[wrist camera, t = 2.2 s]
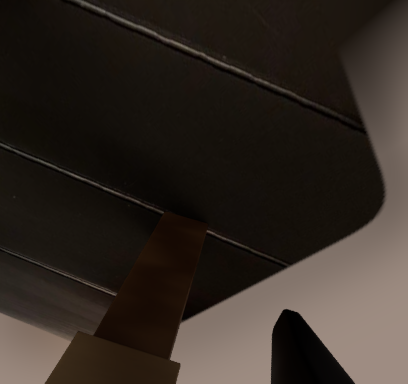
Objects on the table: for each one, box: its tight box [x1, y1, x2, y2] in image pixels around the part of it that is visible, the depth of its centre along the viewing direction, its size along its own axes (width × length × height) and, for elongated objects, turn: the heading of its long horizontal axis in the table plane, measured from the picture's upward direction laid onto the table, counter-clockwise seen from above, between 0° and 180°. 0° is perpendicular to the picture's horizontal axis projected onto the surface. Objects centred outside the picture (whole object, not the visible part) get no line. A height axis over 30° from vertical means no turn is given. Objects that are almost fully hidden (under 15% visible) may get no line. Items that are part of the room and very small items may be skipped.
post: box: [93, 211, 208, 360], centre depth 17 cm, size 3×3×10 cm
